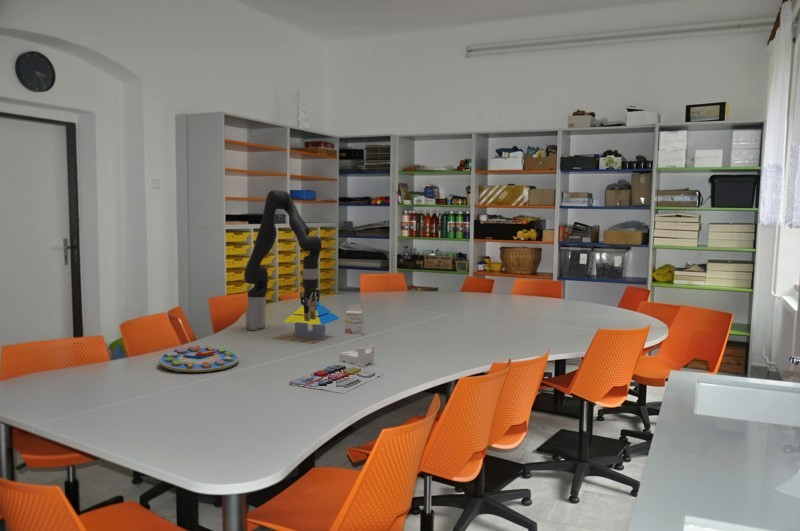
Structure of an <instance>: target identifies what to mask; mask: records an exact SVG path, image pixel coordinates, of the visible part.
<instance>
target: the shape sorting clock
mask: <svg viewBox="0 0 800 531" xmlns="http://www.w3.org/2000/svg"><path fill="white" fill-rule="evenodd" d="M239 359H240V357H239V355H238V353H236V352H234V351H232V350H229V349H226V348H225V347H212V346H211V345H207V346H205V347H203V346H202V347H201V346H199V345H191V346H189V347H187V348H186V347H179V348H178V347H177V348H174V350H172V351H169V352H168V351H167V352H165V353H163V355H161V356H160V357H159V358H158V363H159V365H160V366H161V367H163V368H165V369H168V370H171V371H175V373H177V374H178V373H204V372H214V371H220V370H224V369H230V368H231V369H232V366H235V365H237V364H238V363H239V361H240V360H239Z"/></svg>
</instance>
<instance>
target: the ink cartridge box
mask: <svg viewBox="0 0 800 531" xmlns="http://www.w3.org/2000/svg"><path fill="white" fill-rule="evenodd" d="M346 306H347V308H346V311H345V314H344V316H345V317H344V333H345V334H351V335H359V336H361V335H363V332H364V331H363V328H364V326H363V324H364V323H363V322H364V321H363V320H364V311H363V308H364V307H363V305H359V304H358V305H357V304H347V305H346Z"/></svg>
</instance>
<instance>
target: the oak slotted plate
mask: <svg viewBox="0 0 800 531" xmlns="http://www.w3.org/2000/svg"><path fill="white" fill-rule="evenodd" d="M308 306H309V313H307V314H306V313H304V321H310V319H314V320H315V319H316V301H310V302H309V305H308Z"/></svg>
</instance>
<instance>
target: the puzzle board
mask: <svg viewBox="0 0 800 531" xmlns="http://www.w3.org/2000/svg"><path fill="white" fill-rule="evenodd" d="M341 370H343V372H342V371H341ZM361 370H362V368H361V367H355V366H351V367H346V365H342V364H341V365H338V364H334V365H330V366H327V367H326V368H323V369H322V370H317V371H315V372H312V373H309V374H305V375H304V376H302V377H299V378H297V379H293V380H291V381H289V383H288V384H289V385H290V384H295V385H304V386H310V387H318V386H327V384H331V383H333V381H336V387H344V388H348V387H351V386H353V385H356V384H358V383H360V382H361V380H359V379H357V378H356V377H352V378H344V377H349V375H355V373H356V375H357V376H359V377H362V378H371V377H373V376H375V373H376V372H374V373H370V372H371V371H369V372H361ZM338 371H339V373H337V374H335V373H336V372H338ZM332 373H333V374H335V375H331V374H332ZM327 376H328V379H324V380H322V379H323V378H324V377H327ZM342 378H343V379H342Z"/></svg>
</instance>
